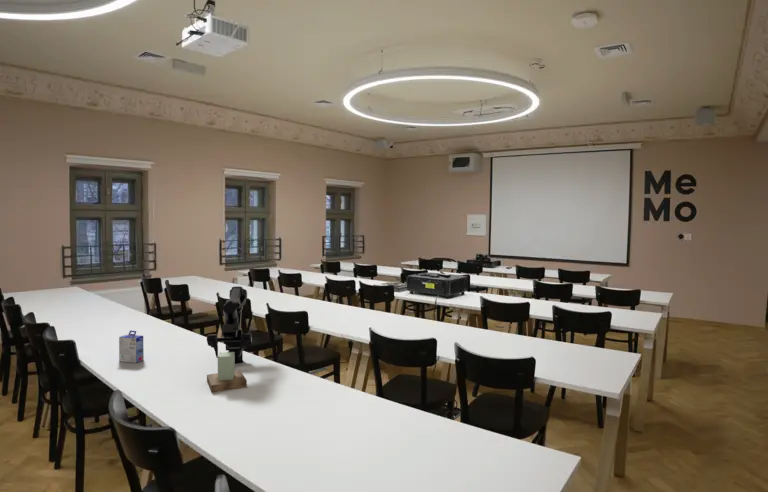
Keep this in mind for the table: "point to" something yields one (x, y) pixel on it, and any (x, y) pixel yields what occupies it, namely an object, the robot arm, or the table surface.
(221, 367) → the sage block
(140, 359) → the ink cartridge box
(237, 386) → the walnut plinth
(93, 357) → the table surface
